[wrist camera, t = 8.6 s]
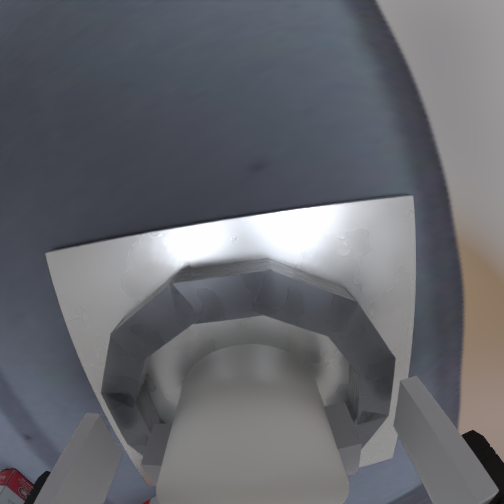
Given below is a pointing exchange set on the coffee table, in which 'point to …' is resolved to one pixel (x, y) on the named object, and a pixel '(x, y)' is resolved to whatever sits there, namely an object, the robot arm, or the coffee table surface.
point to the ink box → (13, 487)
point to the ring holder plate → (248, 309)
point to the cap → (253, 435)
